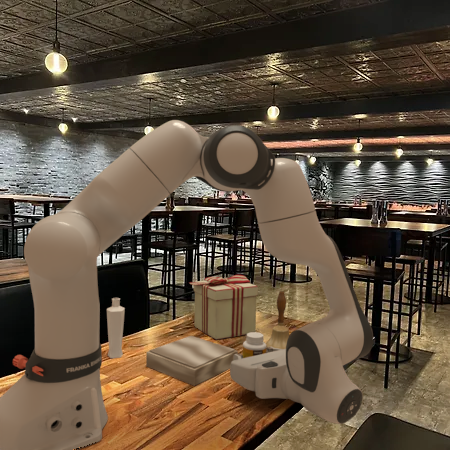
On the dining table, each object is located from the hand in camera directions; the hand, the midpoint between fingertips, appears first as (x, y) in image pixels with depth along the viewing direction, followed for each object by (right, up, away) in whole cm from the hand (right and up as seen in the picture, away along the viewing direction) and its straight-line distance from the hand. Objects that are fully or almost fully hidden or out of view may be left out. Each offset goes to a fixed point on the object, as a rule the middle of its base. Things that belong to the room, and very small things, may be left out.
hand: (252, 353), depth 103 cm
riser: (-15, -5, +5) cm, 16 cm away
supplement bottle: (0, -6, 0) cm, 6 cm away
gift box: (-8, -3, +34) cm, 36 cm away
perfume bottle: (-35, -4, +10) cm, 37 cm away
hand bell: (+9, -4, +21) cm, 23 cm away
